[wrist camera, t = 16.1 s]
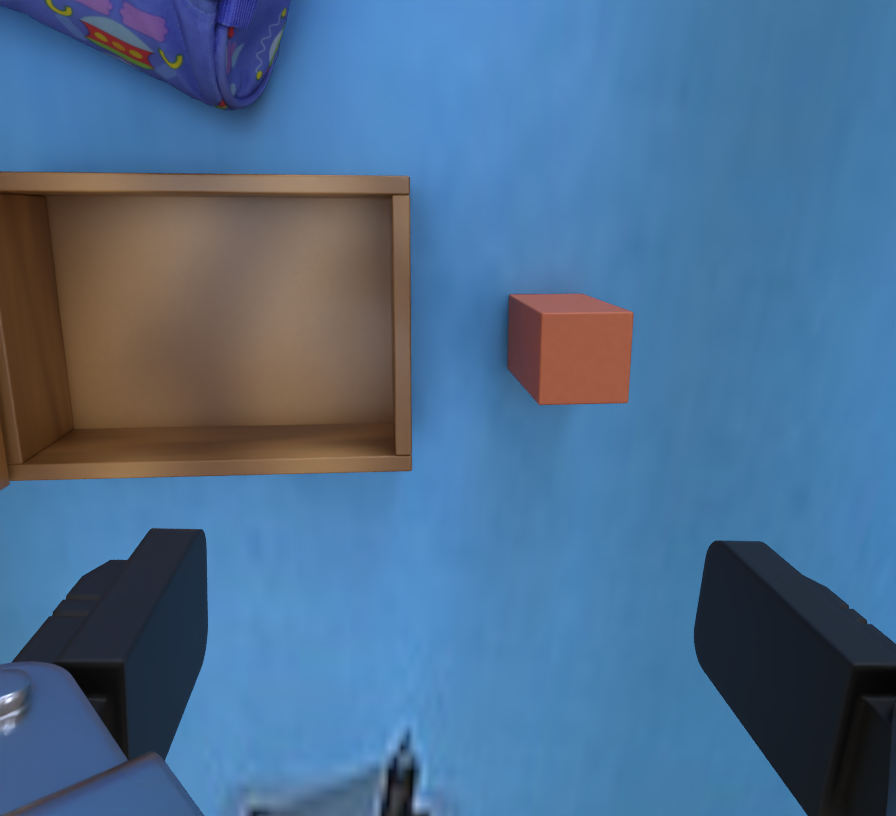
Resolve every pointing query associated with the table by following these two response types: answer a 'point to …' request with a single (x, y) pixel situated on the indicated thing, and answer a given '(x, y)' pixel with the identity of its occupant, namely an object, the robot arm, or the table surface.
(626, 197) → the table surface
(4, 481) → the lid
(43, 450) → the chest
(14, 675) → the robot arm
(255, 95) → the pencil case
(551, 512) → the table surface
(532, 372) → the block
